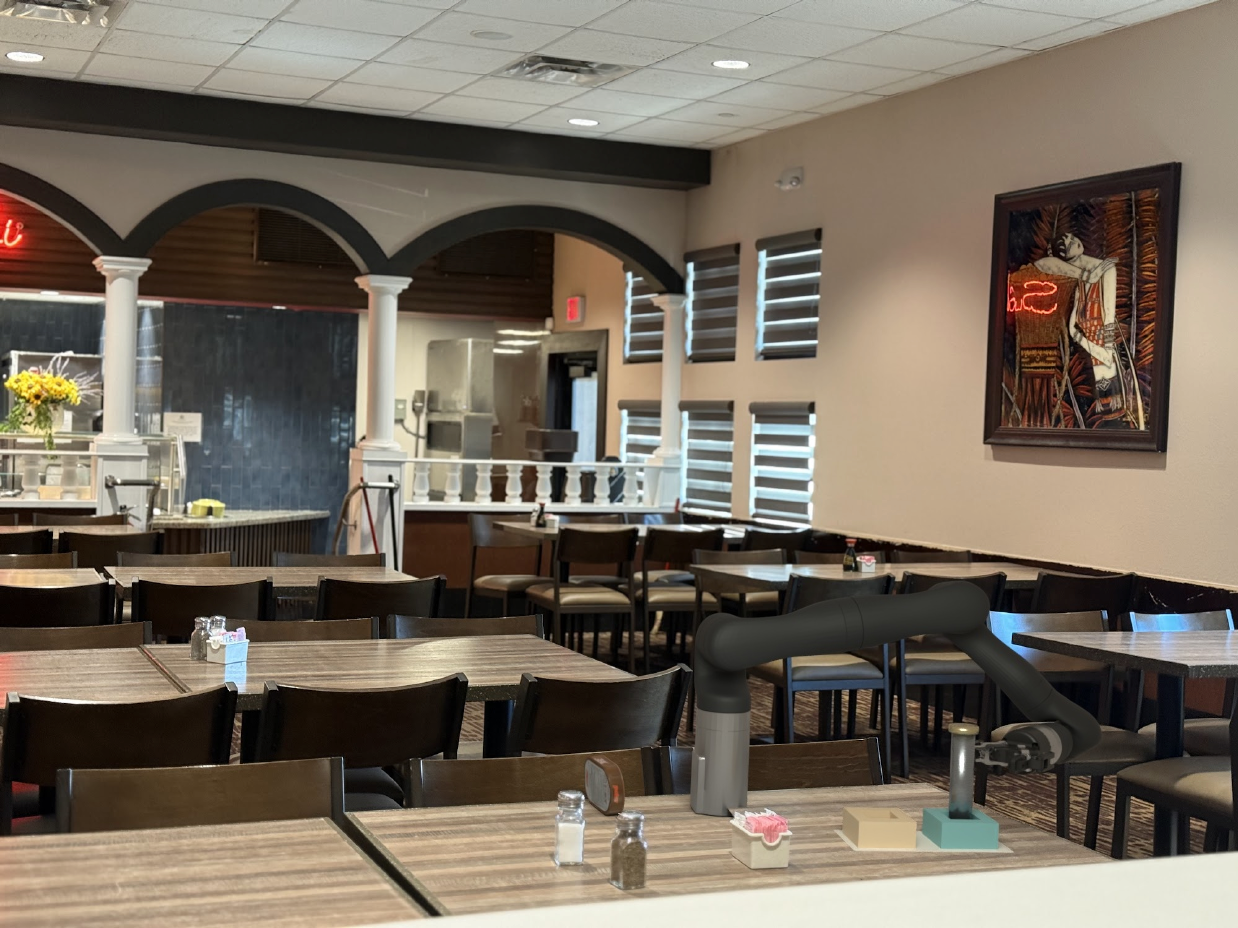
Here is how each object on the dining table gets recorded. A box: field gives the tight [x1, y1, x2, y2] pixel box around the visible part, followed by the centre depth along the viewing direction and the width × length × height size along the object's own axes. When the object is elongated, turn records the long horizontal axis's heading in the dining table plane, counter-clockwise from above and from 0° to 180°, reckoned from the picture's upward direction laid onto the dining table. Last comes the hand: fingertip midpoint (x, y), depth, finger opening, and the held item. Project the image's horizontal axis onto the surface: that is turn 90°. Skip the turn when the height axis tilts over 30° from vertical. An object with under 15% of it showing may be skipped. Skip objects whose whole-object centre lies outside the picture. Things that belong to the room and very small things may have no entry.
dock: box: [833, 806, 1015, 854], centre depth 225 cm, size 25×12×6 cm, turn 96°
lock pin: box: [948, 722, 980, 820], centre depth 226 cm, size 5×5×18 cm
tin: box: [583, 754, 626, 816], centre depth 243 cm, size 15×3×8 cm, turn 19°
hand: (988, 761), depth 232 cm, fingers open, 8 cm apart
